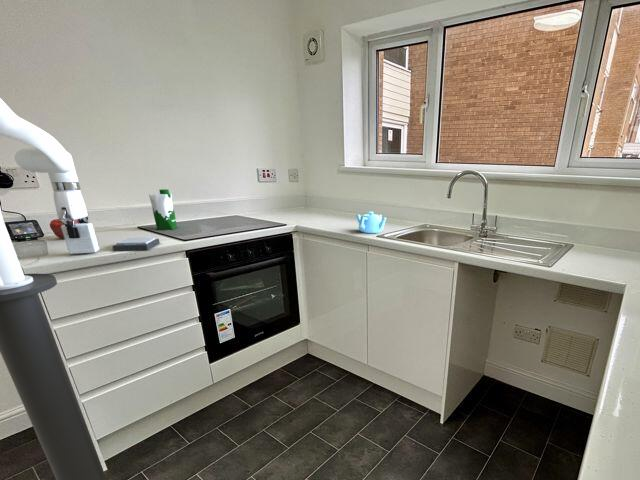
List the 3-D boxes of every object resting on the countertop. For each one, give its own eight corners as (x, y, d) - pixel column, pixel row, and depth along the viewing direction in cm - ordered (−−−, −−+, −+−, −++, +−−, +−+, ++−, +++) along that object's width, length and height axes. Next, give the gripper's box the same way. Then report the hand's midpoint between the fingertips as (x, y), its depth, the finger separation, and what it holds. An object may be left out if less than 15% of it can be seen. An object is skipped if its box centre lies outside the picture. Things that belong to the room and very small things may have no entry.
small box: (100, 249, 139) (92, 222, 136) (95, 252, 134) (88, 225, 131) (74, 250, 136) (66, 223, 132) (68, 253, 131) (60, 225, 128)
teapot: (356, 229, 205) (355, 210, 201) (381, 228, 208) (381, 210, 204) (359, 233, 191) (359, 213, 187) (386, 233, 194) (386, 213, 190)
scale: (147, 250, 143) (146, 243, 142) (113, 251, 140) (111, 243, 139) (159, 243, 155) (158, 237, 154) (128, 244, 152) (127, 237, 151)
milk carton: (173, 230, 184) (165, 190, 176) (154, 230, 181) (145, 190, 174) (179, 227, 191) (172, 189, 184) (160, 227, 189) (152, 188, 182)
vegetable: (81, 239, 156) (75, 217, 153) (50, 241, 151) (43, 218, 148) (86, 235, 165) (80, 213, 161) (57, 236, 160) (50, 214, 156)
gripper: (68, 186, 134) (82, 232, 140) (37, 188, 118) (53, 241, 124) (91, 186, 136) (104, 232, 142) (63, 188, 120) (78, 240, 126)
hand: (80, 236), depth 133 cm, fingers closed on small box, 6 cm apart
